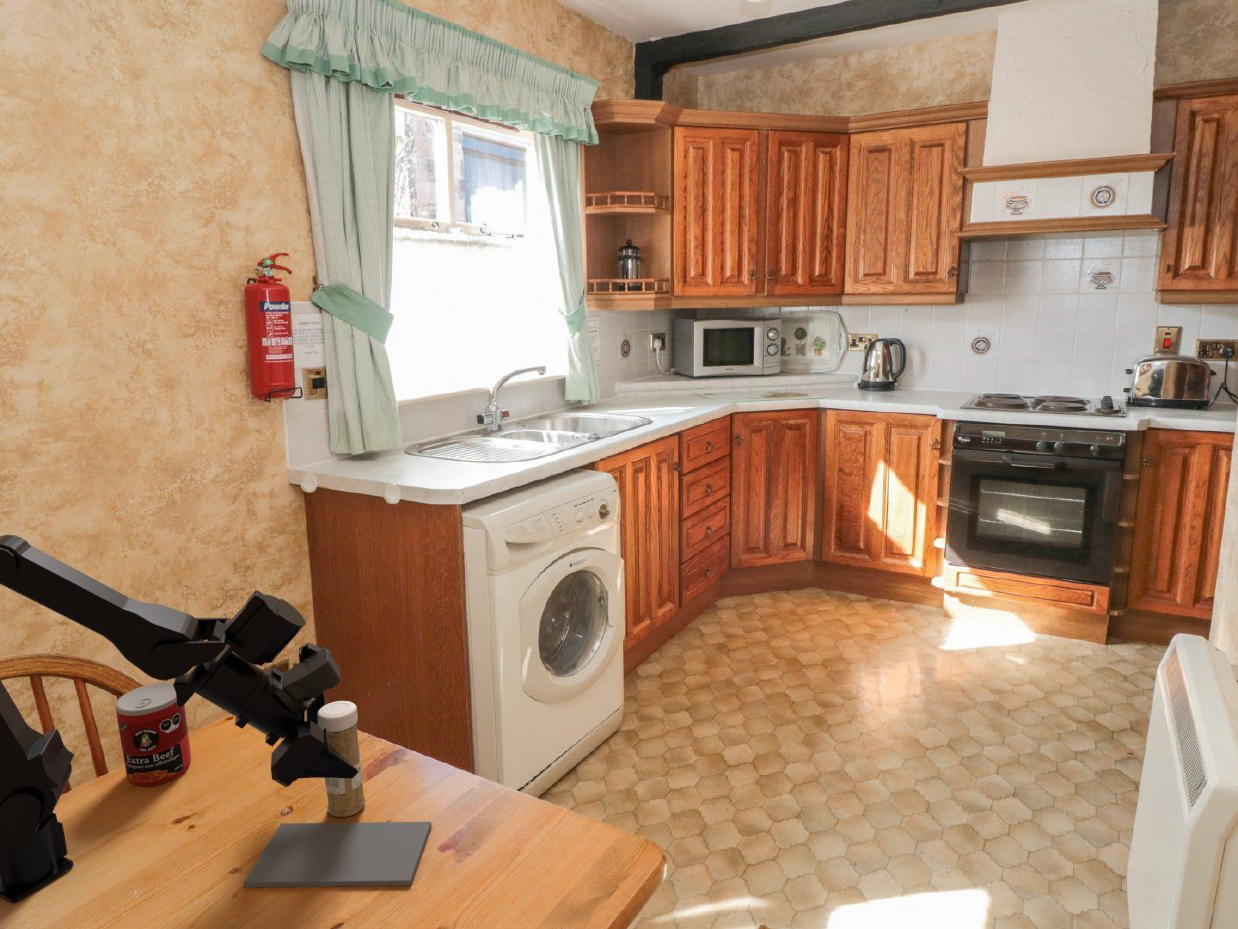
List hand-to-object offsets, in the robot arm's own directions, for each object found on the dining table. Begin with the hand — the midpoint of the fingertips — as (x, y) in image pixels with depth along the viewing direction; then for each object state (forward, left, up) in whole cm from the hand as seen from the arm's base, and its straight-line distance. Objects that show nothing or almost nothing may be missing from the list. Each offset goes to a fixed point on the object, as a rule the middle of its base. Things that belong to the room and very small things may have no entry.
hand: (353, 756), depth 102 cm
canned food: (-5, +30, -7) cm, 31 cm away
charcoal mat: (-8, -5, -7) cm, 12 cm away
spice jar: (-1, +1, -7) cm, 7 cm away
